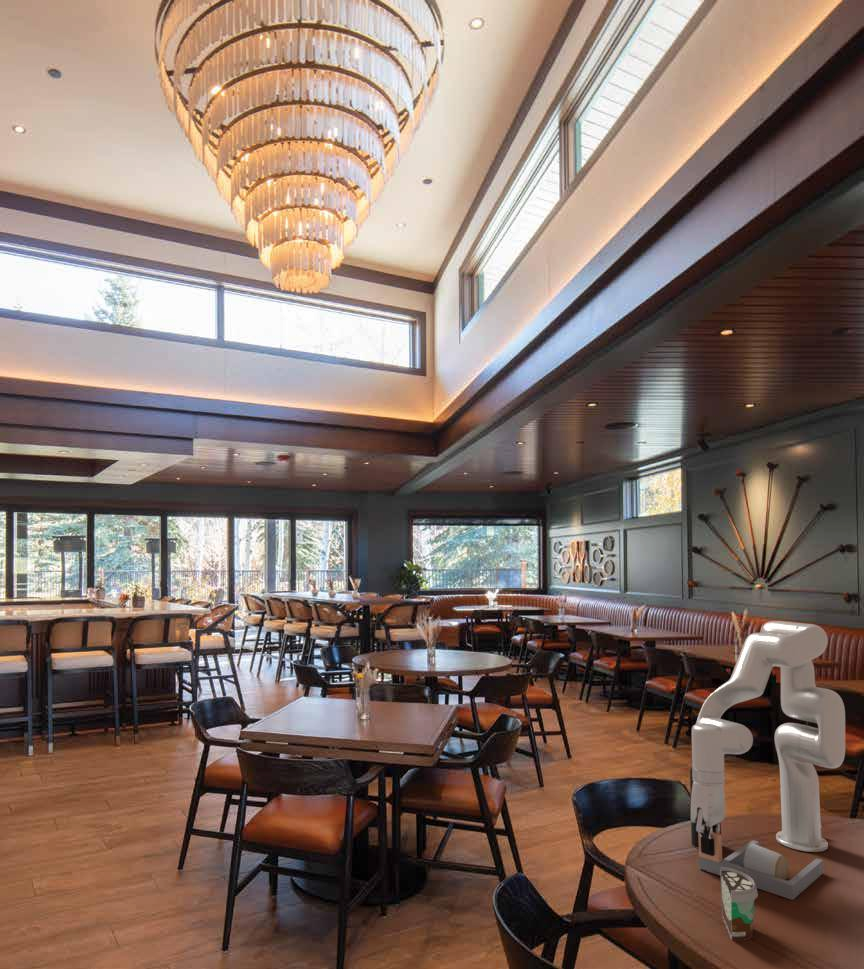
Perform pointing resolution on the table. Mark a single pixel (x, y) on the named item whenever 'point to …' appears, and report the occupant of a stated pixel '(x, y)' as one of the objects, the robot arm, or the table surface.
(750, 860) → the ceramic mug
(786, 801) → the robot arm
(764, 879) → the pull frame
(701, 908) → the table surface
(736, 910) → the food container
